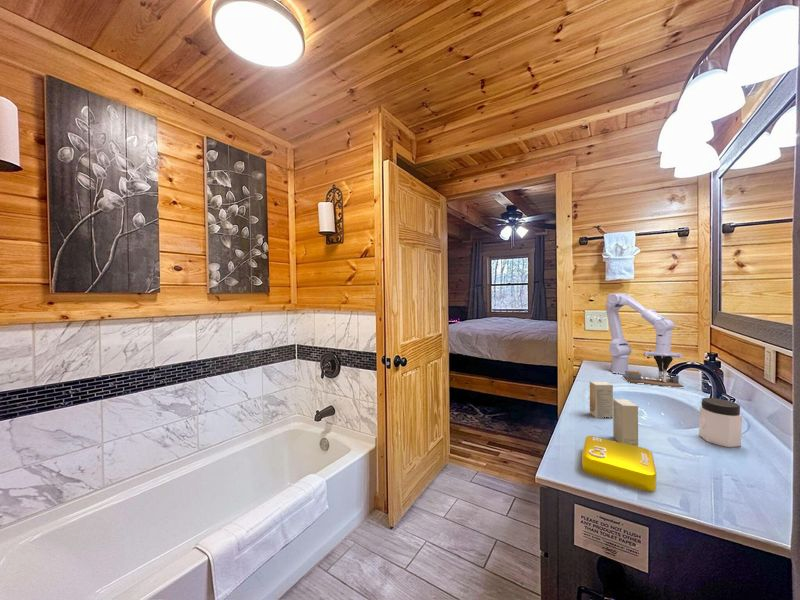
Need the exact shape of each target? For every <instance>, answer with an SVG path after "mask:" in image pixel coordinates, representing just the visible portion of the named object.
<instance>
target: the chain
mask: <svg viewBox="0 0 800 600" xmlns="http://www.w3.org/2000/svg"><path fill="white" fill-rule="evenodd" d="M659 373H661V374H663V377H659V376H658V377H652V378H649V377H650V376H649V377H648V376H641V379H644V380H655V381H662V382H666V379H667V377H666V375H667V373H668V372H667V371H666V370H665V369H663V367H662V372H660V371H659V370H658V374H659ZM662 378H663V379H662Z"/></svg>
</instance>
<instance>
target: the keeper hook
mask: <svg viewBox="0 0 800 600" xmlns="http://www.w3.org/2000/svg"><path fill="white" fill-rule="evenodd" d="M668 375H669V374H666V378H669V379H670V381H671V382H672V383H676V384H680V381H679V380H680V376H679V375H678V374H676V375H677V376H675V377H671V376H668ZM658 376H659V377H662V378H663V373H662V374H661V373H659V372H658Z"/></svg>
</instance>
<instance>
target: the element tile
mask: <svg viewBox="0 0 800 600" xmlns="http://www.w3.org/2000/svg"><path fill="white" fill-rule="evenodd" d="M581 469H582V470H584V471H583V472H585V473H586V472H587V474H588V473H589V474H588V475H591V474H592V476H595V475H596V476H595V477H598V476H599V478H601V477H602V479H605V478H606V480H608V479H609V481H613V482H615V481H616V483H619V484H623V485H625V486H629V487H632V488H637V489H638V490H642V491H646V492H655V491H656V490H657V471H656V464H655V461H654V455H653V453H652V452H651V450H649V449H648V448H646V447H641V446H639V445H638V446H633V445H629V444H625V443H620V442H618V441H617V440H616V441H615V440H611V439H607V438H603V437H598V436H594V435H587V436H586V437H585V439H584V444H583V449H582V454H581Z"/></svg>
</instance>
